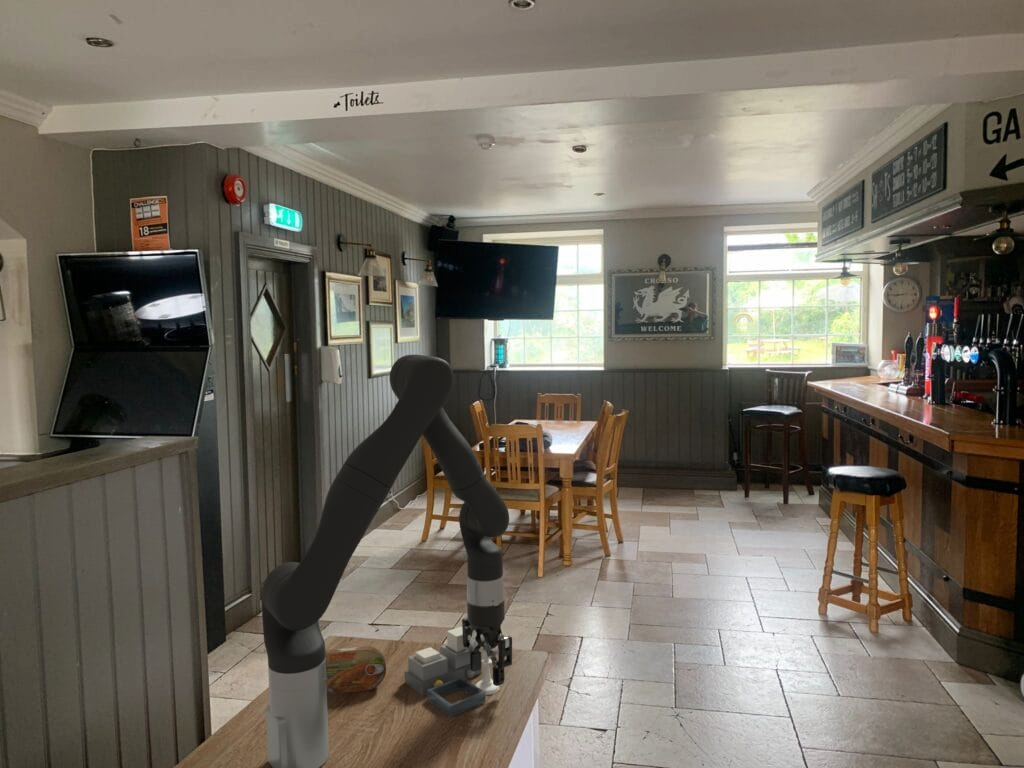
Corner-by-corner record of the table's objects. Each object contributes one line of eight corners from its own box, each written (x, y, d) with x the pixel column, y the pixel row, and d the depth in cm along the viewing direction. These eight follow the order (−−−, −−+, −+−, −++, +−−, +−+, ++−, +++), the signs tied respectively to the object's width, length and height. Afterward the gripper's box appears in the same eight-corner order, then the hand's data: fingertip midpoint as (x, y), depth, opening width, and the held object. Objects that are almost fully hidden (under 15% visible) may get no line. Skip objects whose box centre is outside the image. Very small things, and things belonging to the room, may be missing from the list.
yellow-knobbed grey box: (424, 697, 140) (424, 670, 140) (404, 682, 146) (404, 656, 146) (483, 674, 149) (483, 649, 149) (462, 661, 155) (462, 637, 155)
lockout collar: (450, 717, 133) (450, 706, 133) (427, 699, 139) (426, 689, 139) (485, 702, 138) (485, 692, 138) (461, 686, 145) (461, 676, 144)
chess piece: (496, 696, 141) (495, 646, 140) (472, 693, 142) (471, 645, 141) (501, 683, 145) (500, 636, 145) (478, 681, 146) (477, 634, 146)
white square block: (425, 674, 143) (424, 658, 143) (415, 668, 146) (415, 652, 146) (440, 669, 145) (439, 653, 145) (430, 662, 148) (430, 647, 148)
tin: (309, 696, 141) (308, 655, 141) (311, 688, 145) (310, 648, 144) (386, 689, 144) (385, 649, 143) (386, 682, 147) (385, 642, 146)
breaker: (456, 652, 148) (456, 636, 148) (447, 646, 151) (447, 631, 150) (471, 647, 150) (470, 631, 150) (461, 641, 153) (461, 626, 153)
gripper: (450, 591, 145) (451, 670, 147) (492, 613, 134) (493, 697, 135) (479, 583, 150) (481, 659, 151) (522, 603, 139) (524, 684, 140)
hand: (487, 677), depth 143 cm, fingers open, 7 cm apart
